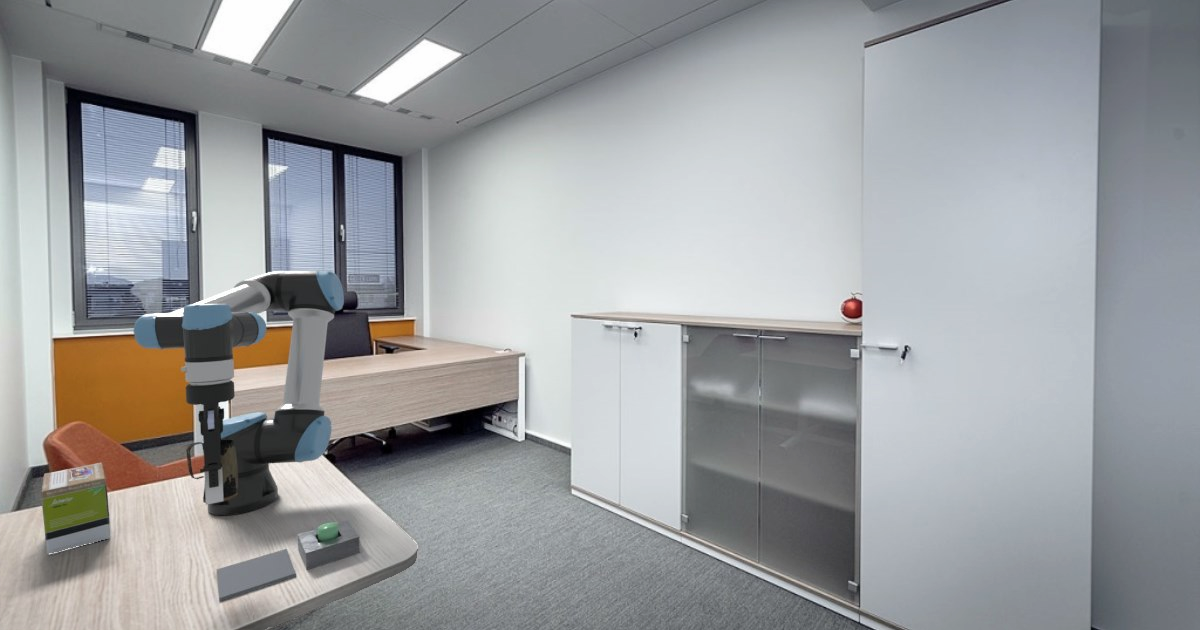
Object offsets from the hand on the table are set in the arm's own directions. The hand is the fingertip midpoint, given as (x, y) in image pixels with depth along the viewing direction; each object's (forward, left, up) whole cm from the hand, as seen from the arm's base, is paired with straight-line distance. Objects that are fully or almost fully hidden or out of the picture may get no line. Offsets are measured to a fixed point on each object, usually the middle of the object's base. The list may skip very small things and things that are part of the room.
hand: (215, 496), depth 98 cm
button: (+6, +19, -13) cm, 23 cm away
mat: (+6, +6, -15) cm, 17 cm away
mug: (0, 0, -1) cm, 1 cm away
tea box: (-40, -24, -16) cm, 49 cm away
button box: (+6, +19, -15) cm, 25 cm away
